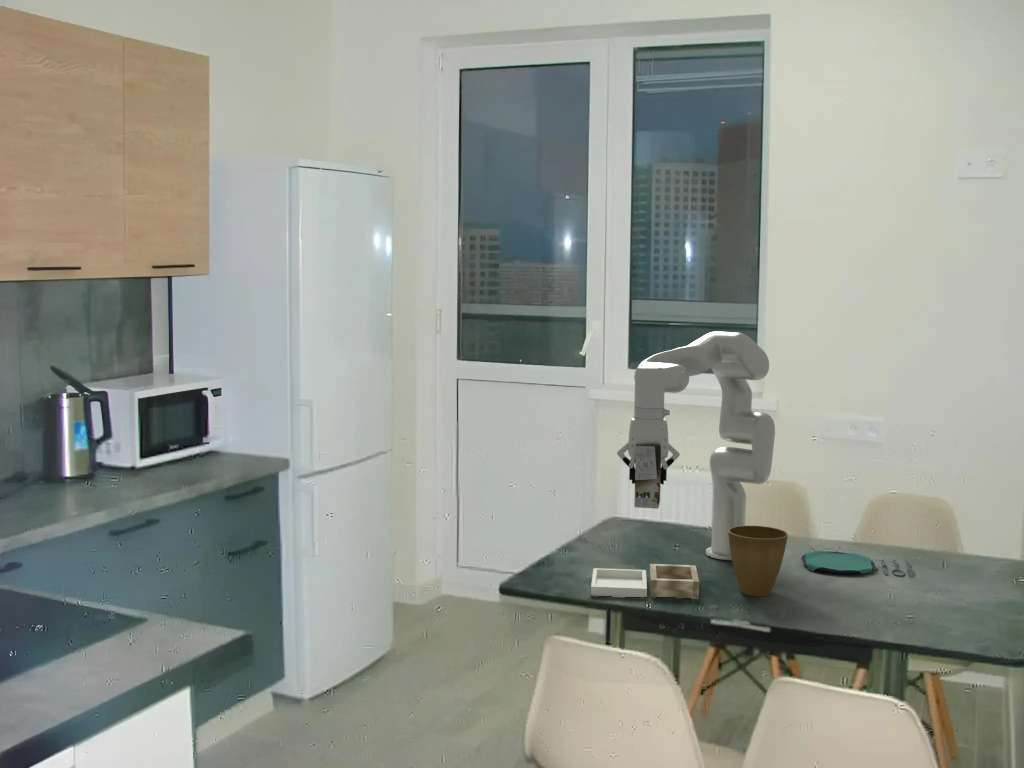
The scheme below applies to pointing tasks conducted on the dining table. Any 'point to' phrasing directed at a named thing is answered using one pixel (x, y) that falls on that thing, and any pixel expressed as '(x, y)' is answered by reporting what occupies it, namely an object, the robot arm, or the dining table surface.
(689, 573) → the holder
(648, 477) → the coffee box
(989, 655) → the dining table surface
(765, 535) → the plant pot
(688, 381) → the robot arm
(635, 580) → the tray
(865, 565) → the cutlery set
